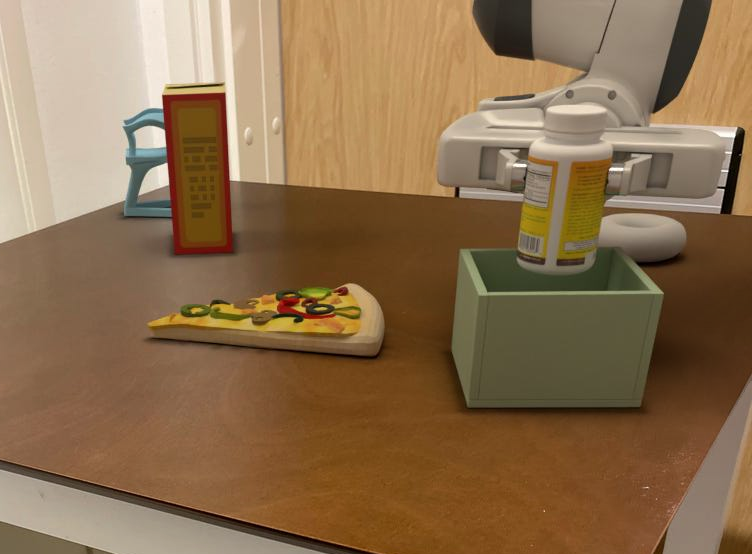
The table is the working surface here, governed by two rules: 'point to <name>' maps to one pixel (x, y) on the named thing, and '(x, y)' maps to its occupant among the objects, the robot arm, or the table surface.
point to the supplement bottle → (565, 192)
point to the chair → (144, 165)
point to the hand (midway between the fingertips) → (564, 180)
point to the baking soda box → (198, 167)
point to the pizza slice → (285, 321)
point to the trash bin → (553, 332)
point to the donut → (643, 236)
